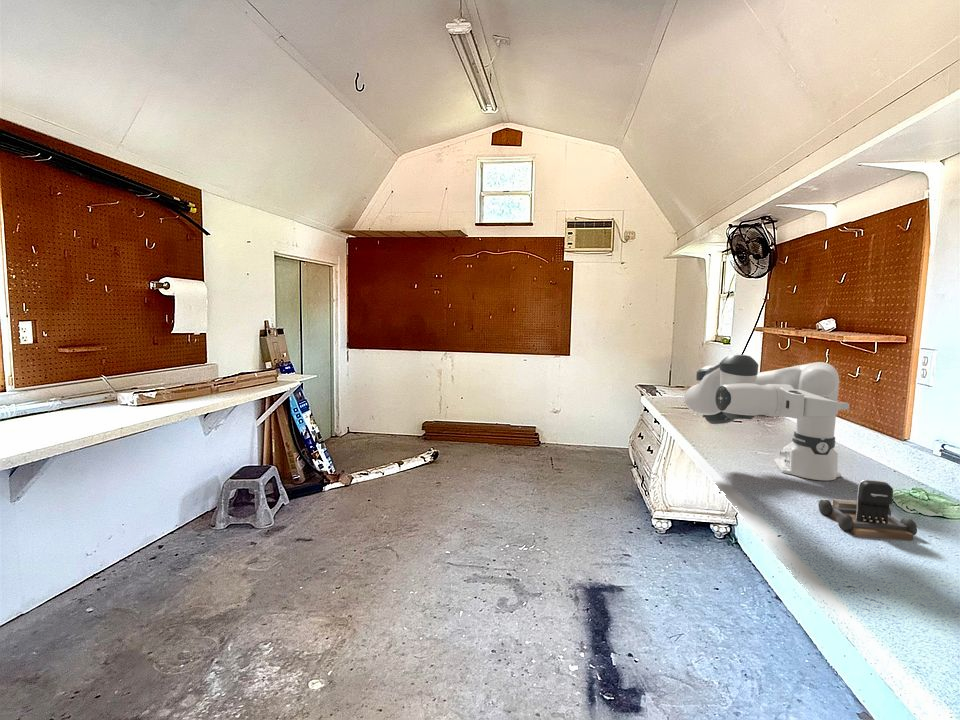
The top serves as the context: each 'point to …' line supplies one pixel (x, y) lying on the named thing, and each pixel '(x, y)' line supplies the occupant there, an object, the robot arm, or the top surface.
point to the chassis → (846, 519)
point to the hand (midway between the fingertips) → (837, 402)
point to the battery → (873, 501)
